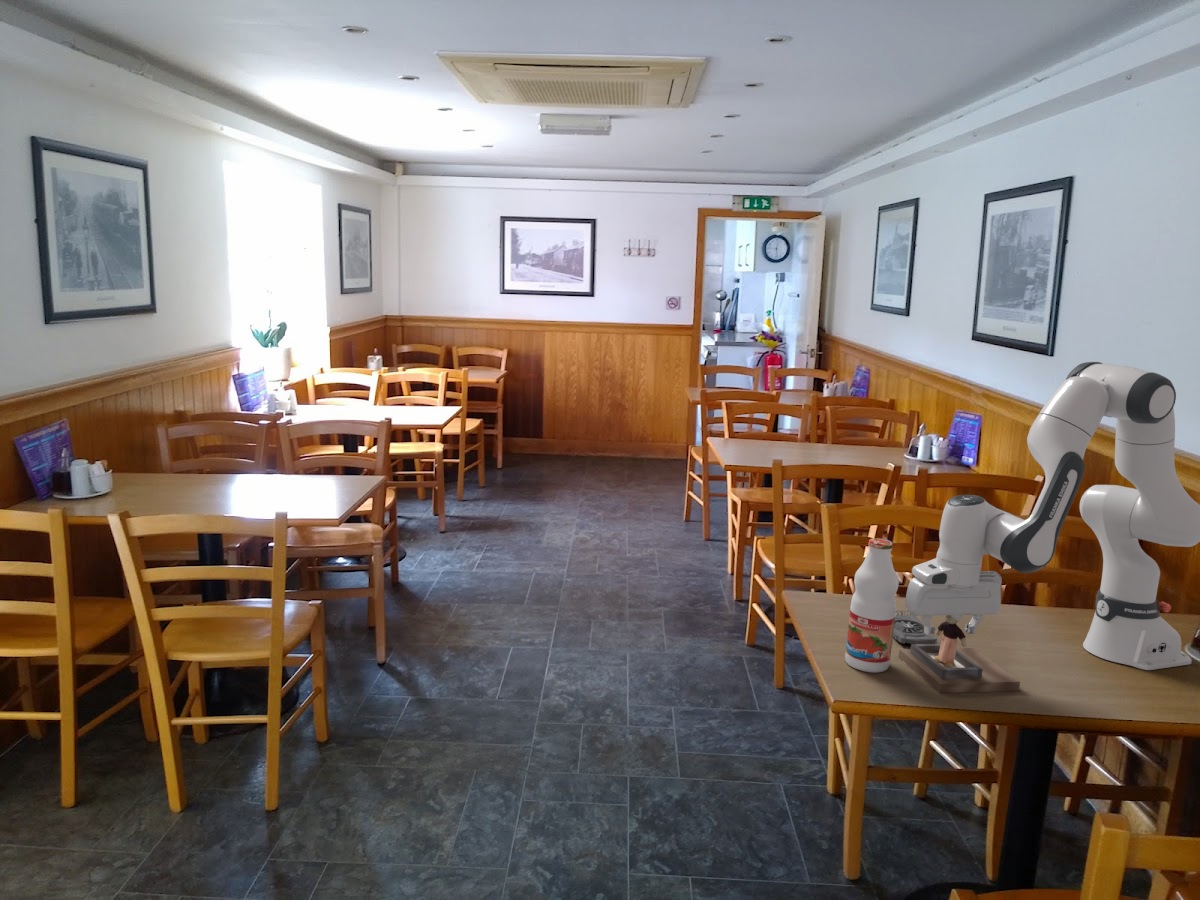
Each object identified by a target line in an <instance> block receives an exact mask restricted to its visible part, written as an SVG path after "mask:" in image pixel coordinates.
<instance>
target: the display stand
mask: <svg viewBox="0 0 1200 900" xmlns="http://www.w3.org/2000/svg"><path fill="white" fill-rule="evenodd" d="M940 646H941V643H936V644H932V643H929V644H912V643H910V648H900V649H898V657H899V658H900V660H901V662H903V661H904V662H905V663H906V664H907V665H906V664H905V663H904V662H903V663H904V664H905V665H906V666H907V667H908V668H910V669H911V670H912V671H913V670H914V671H915V672H914V671H913V672H914V673H915V674H916V675H918V676H919V677H920V676H921V677H922V678H923V681H925V682H926V683H927V684H928V685H929V684H930V685H931V686H930V685H929V686H930V687H932V689H934V690H935V691H936V692H937V691H938V692H937V693H939V694H944V693H945V694H946V693H950V694H952V693H976V692H977V693H979V692H980V693H981V692H986V693H987V692H1017V691H1018V692H1019V691H1020V686H1021V681H1020V680H1019V679H1017V678H1016V677H1014V676H1013V675H1011V674H1010V673H1009V672H1008V671H1006V670H1005V669H1003V668H1002V667H1001V666H999V665H998V664H996V663H995V662H993V660H991V659H989V658H988V657H987V656H985V655H984V654H983V653H982V652H979V650H977V649H976V648H974V647H956V655H955V659H954V663H955V666H953V667H946V666H944V665H943V662H937V661H935V660H934V658H935V657H937V656H939V650H940ZM899 658H898V659H899ZM921 677H920V678H921ZM922 678H921V679H922Z"/></svg>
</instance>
